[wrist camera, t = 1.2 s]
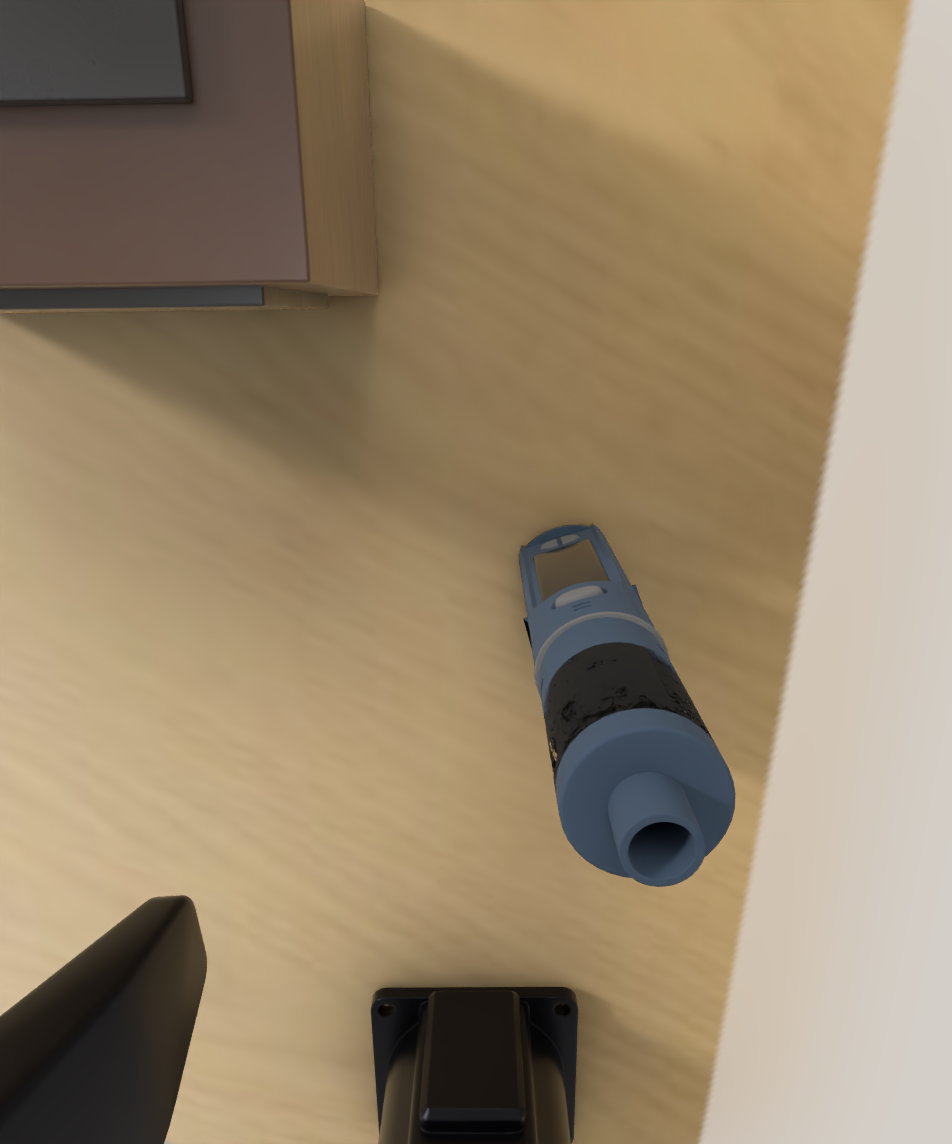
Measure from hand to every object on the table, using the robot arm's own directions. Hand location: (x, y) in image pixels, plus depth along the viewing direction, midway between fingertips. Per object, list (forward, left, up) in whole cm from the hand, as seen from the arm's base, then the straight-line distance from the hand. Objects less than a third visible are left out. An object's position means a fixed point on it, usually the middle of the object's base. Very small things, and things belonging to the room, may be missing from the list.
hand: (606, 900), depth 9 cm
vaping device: (-2, -1, -13) cm, 13 cm away
